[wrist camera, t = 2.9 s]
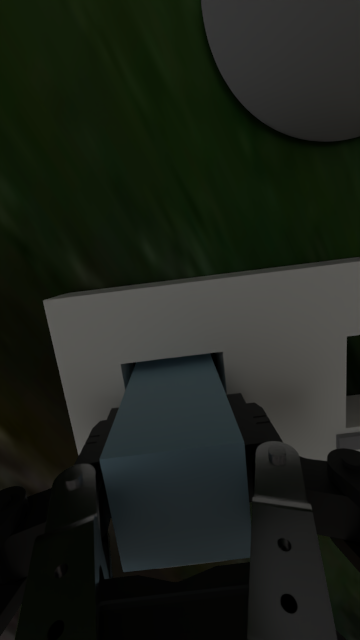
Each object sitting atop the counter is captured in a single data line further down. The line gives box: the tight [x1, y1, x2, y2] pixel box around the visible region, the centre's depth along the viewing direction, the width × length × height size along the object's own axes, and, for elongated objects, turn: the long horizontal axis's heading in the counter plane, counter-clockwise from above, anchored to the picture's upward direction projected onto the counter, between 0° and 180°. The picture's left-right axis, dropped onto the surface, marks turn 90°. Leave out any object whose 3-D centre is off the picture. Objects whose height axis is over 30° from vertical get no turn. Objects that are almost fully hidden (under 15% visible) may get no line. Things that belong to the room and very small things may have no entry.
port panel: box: [43, 257, 360, 461], centre depth 15 cm, size 12×22×3 cm, turn 97°
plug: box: [99, 353, 251, 572], centre depth 12 cm, size 5×4×9 cm
